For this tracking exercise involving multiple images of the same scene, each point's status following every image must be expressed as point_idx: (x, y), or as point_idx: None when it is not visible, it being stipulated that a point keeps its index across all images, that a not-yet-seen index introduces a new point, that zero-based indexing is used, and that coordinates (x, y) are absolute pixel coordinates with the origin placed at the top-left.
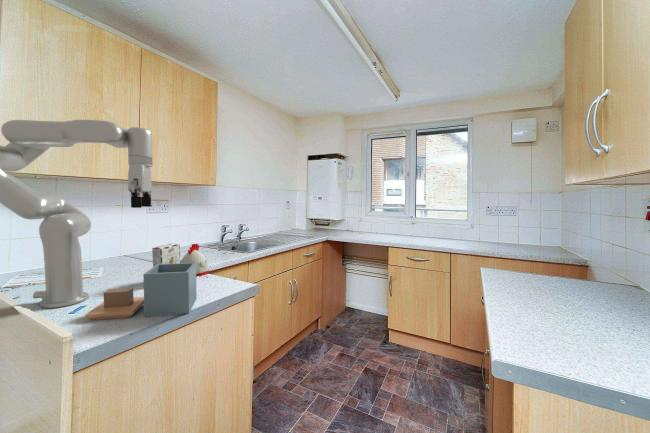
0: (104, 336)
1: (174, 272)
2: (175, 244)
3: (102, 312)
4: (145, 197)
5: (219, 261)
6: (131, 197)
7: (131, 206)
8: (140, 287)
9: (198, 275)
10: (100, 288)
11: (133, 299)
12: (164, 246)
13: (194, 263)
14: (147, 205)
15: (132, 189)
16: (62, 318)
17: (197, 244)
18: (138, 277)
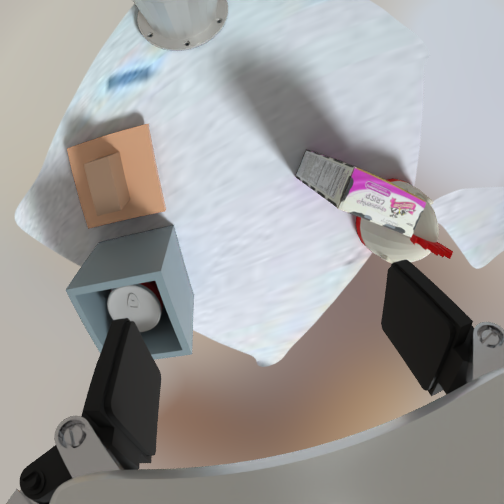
0: (37, 223)
1: (97, 342)
2: (404, 227)
3: (77, 173)
4: (435, 358)
5: (466, 241)
6: (91, 405)
7: (113, 325)
8: (281, 125)
9: (361, 240)
10: (278, 29)
11: (146, 188)
12: (373, 204)
13: (182, 353)
14: (386, 313)
15: (28, 498)
16: (86, 89)
17: (447, 257)
18: (370, 82)
